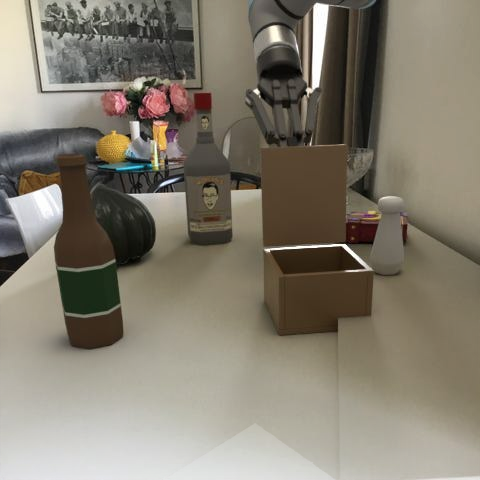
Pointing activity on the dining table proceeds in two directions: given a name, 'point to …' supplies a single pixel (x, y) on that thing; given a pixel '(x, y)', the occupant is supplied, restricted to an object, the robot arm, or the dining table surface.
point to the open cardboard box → (315, 287)
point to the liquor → (207, 182)
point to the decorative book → (368, 226)
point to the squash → (124, 223)
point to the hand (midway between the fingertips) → (296, 176)
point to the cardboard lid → (303, 194)
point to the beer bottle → (85, 263)
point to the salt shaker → (388, 237)
